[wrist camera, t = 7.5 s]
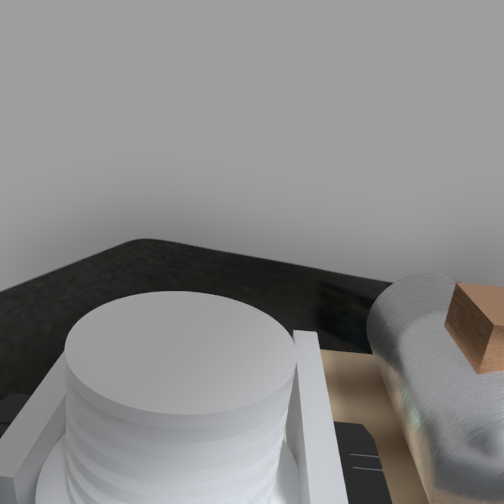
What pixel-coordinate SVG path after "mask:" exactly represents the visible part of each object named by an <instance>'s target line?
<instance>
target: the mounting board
mask: <svg viewBox="0 0 504 504" xmlns="http://www.w3.org/2000/svg"><path fill="white" fill-rule="evenodd" d="M320 353H321V358H322V364H323V369H324V375H325V380H326V385H327V391H328V396H329V402H330V407H331V412H332V418H333V421H335V422H346V423H357V424H363V425H364V427H365V428H366V429H367V431H368V432H369V433H370V434H371V436H372V437H373V438H374V440H375V444H376V447H377V451H378V454H379V458H380V461H381V465H382V468H383V469H382V471H383V472H384V475H385V479H386V482H387V486H388V489H389V493H390V496H391V500H392V503H393V504H430V503H429V501H428V498H427V495H426V493H425V490H424V487H423V485H422V482H421V479H420V477H419V474H418V471H417V469H416V466H415V463H414V461H413V458H412V455H411V453H410V450H409V447H408V445H407V442H406V439H405V437H404V434H403V431H402V429H401V426H400V423H399V421H398V418H397V415H396V413H395V410H394V408H393V405H392V402H391V400H390V397H389V394H388V392H387V389H386V386H385V384H384V381H383V378H382V376H381V373H380V370H379V368H378V365H377V362H376V360H375V357H374V355H371V354H361V353H351V352H341V351H331V350H321V349H320ZM283 439H284V441H285V442H286V424H285V428H284V436H283ZM286 444H287V443H286Z"/></svg>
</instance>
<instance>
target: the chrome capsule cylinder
mask: <svg viewBox="0 0 504 504" xmlns="http://www.w3.org/2000/svg"><path fill="white" fill-rule="evenodd" d="M366 328H367V337H368V341H369V344H370V346H371V349H372V352H373V354H374V357H375V360H376V362H377V365H378V368H379V370H380V373H381V376H382V378H383V381H384V384H385V386H386V389H387V392H388V394H389V397H390V400H391V402H392V405H393V408H394V410H395V413H396V415H397V418H398V421H399V423H400V426H401V429H402V431H403V434H404V437H405V439H406V442H407V445H408V447H409V450H410V453H411V455H412V458H413V461H414V463H415V466H416V469H417V471H418V474H419V477H420V479H421V482H422V485H423V487H424V490H425V493H426V495H427V498H428V501H429V503H430V504H504V287H496V286H486V285H476V284H466V283H462V282H461V281H459V280H457V279H455V278H453V277H450V276H447V275H443V274H437V273H425V274H424V273H423V274H417V275H412V276H409V277H406V278H404V279H401V280H400V281H397V282H396V283H394V284H392V285H391V286H390V287H388V288H387V289H386V290H385V291H384V292H382V293H381V294H380V296H379V297H378V298H377V299H376V301H375V302H374V304H373V305H372V307H371V310H370V312H369V315H368V318H367V325H366Z"/></svg>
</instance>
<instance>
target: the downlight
mask: <svg viewBox="0 0 504 504" xmlns="http://www.w3.org/2000/svg"><path fill="white" fill-rule="evenodd" d="M296 362H297V351H296V347H295V344H294V342H293V339H292V338H291V336H290V335H289V333H288V332H287V331H286V329H285V328H284V327H283V326H282V325H281V324H279V323H278V322H277V321H276V320H275V319H273V318H272V317H270V316H269V315H267V314H266V313H264V312H262V311H260V310H258V309H256V308H254V307H252V306H250V305H247V304H245V303H242V302H239V301H236V300H233V299H229V298H226V297H221V296H217V295H211V294H205V293H197V292H184V291H165V292H151V293H143V294H138V295H133V296H128V297H124V298H121V299H117V300H114V301H111V302H109V303H106V304H104V305H102V306H100V307H98V308H96V309H94V310H92V311H91V312H89V313H88V314H86V315H85V316H83V317H82V318H81V319H80V320H79V321H78V322H77V323H76V324H75V325H74V326H73V328H72V329H71V331H70V332H69V334H68V336H67V339H66V343H65V368H66V371H65V391H66V433H65V434H64V435H63V436H62V437H61V438H60V439H59V440H58V442H57V443H56V444H55V446H54V447H53V449H52V451H51V452H50V454H49V456H48V457H47V459H46V461H45V462H44V464H43V466H42V469H41V472H40V474H39V477H38V482H37V486H36V495H35V504H300V502H301V497H300V485H299V473H298V467H297V464H296V461H295V459H294V457H293V454H292V452H291V451H290V449H289V447H288V445H287V444H286V442H285V441H284V439H283V436H284V428H285V424H286V419H287V413H288V406H289V401H290V396H291V391H292V383H293V378H294V374H295V368H296Z"/></svg>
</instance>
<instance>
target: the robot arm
mask: <svg viewBox="0 0 504 504" xmlns="http://www.w3.org/2000/svg"><path fill="white" fill-rule="evenodd" d="M292 339H293V342H294V344H295V347H296V351H297V362H296V368H295V374H294V378H293V383H292V391H291V396H290V401H289V406H288V413H287V419H286V443H287V445H288V447H289V449H290V451H291V452H292V454H293V457H294V459H295V461H296V464H297V467H298V473H299V485H300V497H301V502H300V504H393V503H392V500H391V496H390V493H389V489H388V486H387V482H386V479H385V475H384V472H383V471H382V469H383V468H382V465H381V461H380V458H379V454H378V451H377V447H376V444H375V440H374V438H373V437H372V436H371V434H370V433H369V432H368V431H367V429H366V428H365V427H364V425H363V424H357V423H346V422H335V421H333V418H332V412H331V407H330V402H329V396H328V391H327V385H326V380H325V375H324V369H323V364H322V358H321V353H320V348H319V342H318V337H317V332H310V331H299V330H294V331H293V338H292ZM65 371H66V368H65V350H64V352H63V353H62V354H61V356H60V357H59V359H58V360H57V361H56V363H55V364H54V365H53V367H52V368H51V370H50V371H49V372H48V374H47V375H46V377H45V378H44V379H43V381H42V382H41V383H40V385H39V386H38V388H37V389H36V390H35V392H34V393H33V394H32V395H27V394H16V393H11V394H10V395H8V396H7V397H5V398H4V399H2V400H1V401H0V504H35V495H36V486H37V482H38V477H39V474H40V472H41V469H42V466H43V464H44V462H45V461H46V459H47V457H48V456H49V454H50V452H51V451H52V449H53V447H54V446H55V444H56V443H57V442H58V440H59V439H60V438H61V437H62V436H63V435H64V434H65V433H66V391H65Z"/></svg>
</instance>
